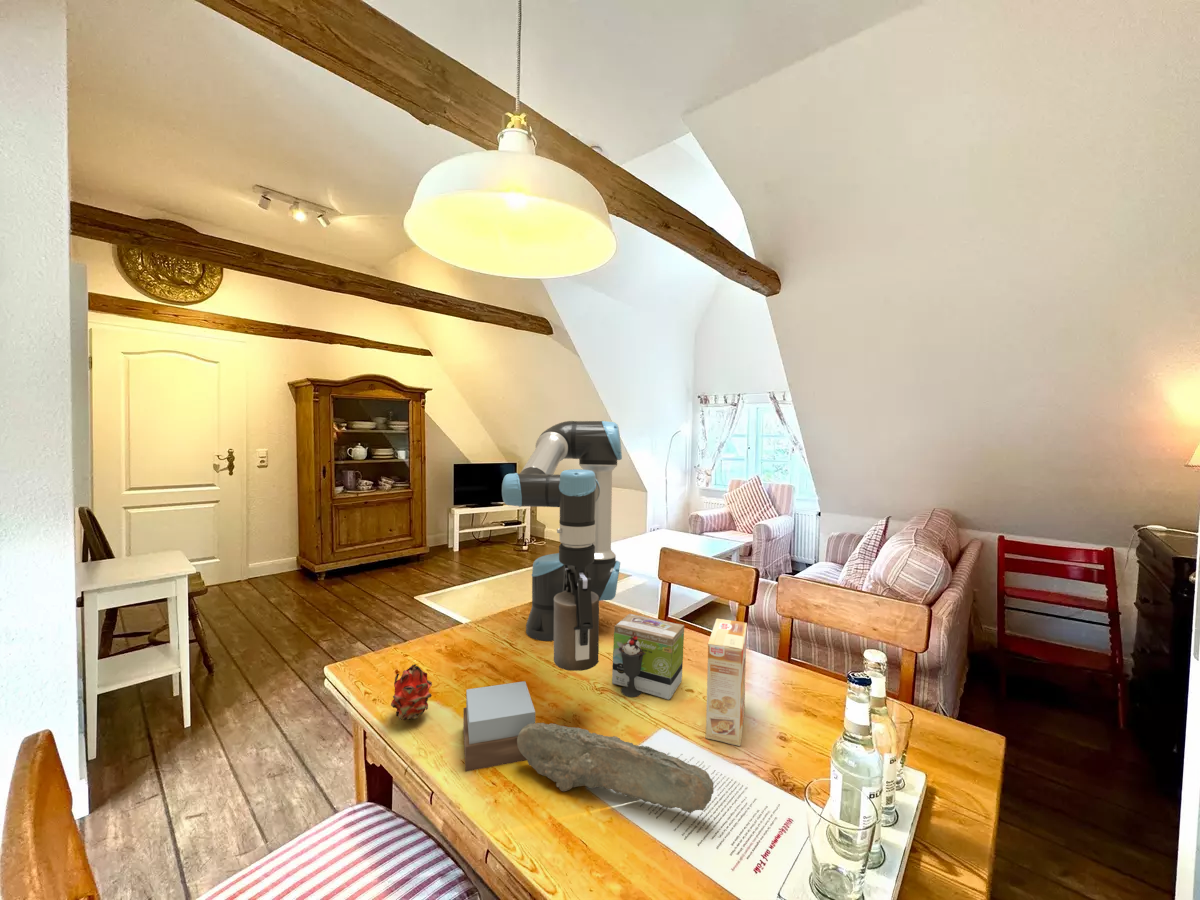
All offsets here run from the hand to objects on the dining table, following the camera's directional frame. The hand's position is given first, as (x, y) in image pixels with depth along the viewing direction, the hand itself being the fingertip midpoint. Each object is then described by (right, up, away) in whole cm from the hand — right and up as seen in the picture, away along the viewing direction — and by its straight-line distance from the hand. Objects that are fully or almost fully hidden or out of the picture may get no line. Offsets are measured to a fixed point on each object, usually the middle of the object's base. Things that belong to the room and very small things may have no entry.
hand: (576, 647), depth 103 cm
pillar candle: (0, -3, 0) cm, 3 cm away
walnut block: (-15, -16, -8) cm, 23 cm away
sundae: (+13, -16, +12) cm, 23 cm away
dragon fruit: (-35, -15, 0) cm, 38 cm away
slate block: (-15, -11, -8) cm, 20 cm away
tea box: (+17, -15, +16) cm, 27 cm away
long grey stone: (+6, -17, -21) cm, 27 cm away
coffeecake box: (+32, -16, 0) cm, 36 cm away
